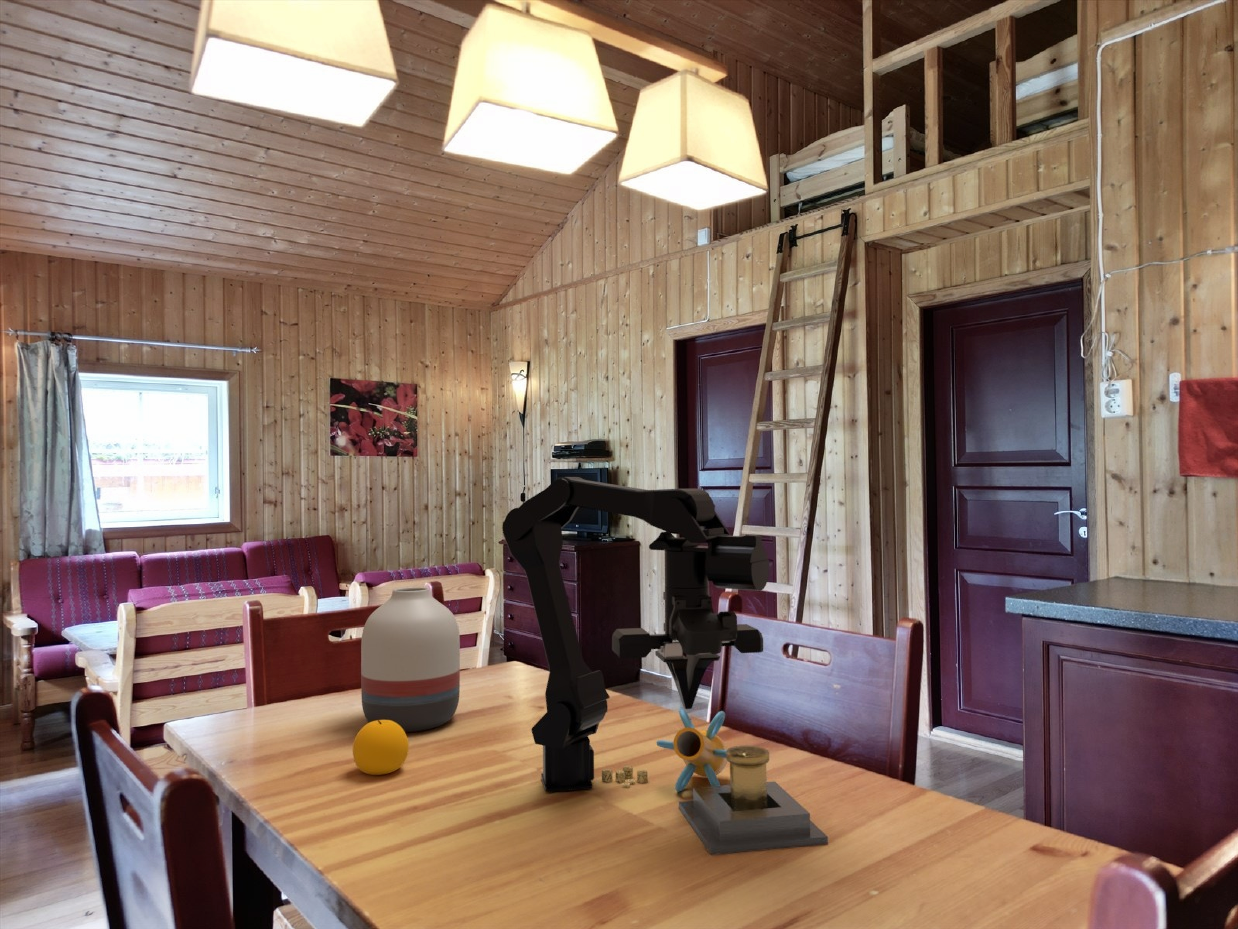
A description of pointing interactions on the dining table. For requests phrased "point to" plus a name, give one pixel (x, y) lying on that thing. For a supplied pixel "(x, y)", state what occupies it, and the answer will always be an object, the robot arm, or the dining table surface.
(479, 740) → the dining table surface
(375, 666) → the vase
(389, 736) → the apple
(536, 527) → the robot arm
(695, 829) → the plate
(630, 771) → the mottled tan cylinder cluster
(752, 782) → the bushing
